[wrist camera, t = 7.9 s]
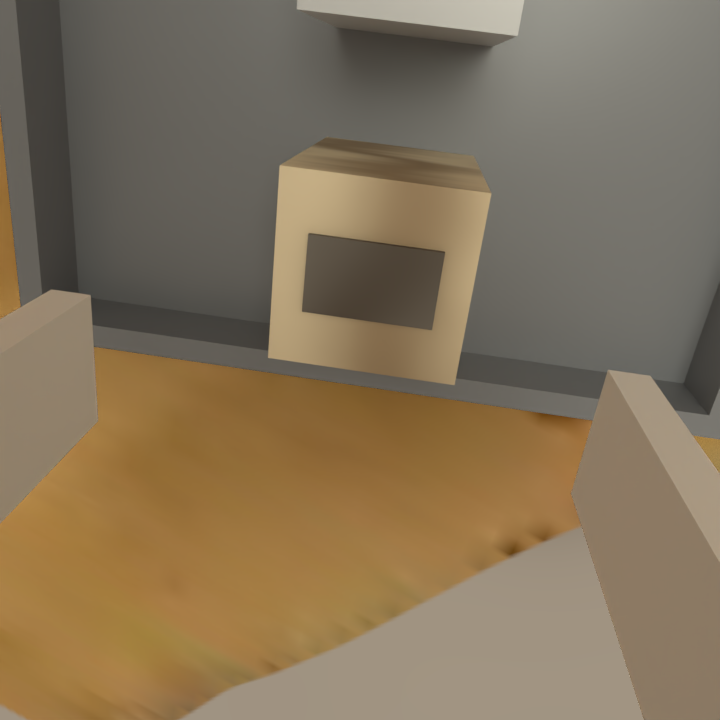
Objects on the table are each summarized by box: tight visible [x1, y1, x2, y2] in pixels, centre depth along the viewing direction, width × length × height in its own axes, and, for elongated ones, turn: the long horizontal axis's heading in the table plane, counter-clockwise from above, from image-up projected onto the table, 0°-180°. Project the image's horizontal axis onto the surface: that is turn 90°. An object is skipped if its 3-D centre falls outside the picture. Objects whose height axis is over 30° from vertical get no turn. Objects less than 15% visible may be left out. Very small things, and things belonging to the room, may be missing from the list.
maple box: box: [268, 137, 491, 385], centre depth 24 cm, size 6×6×9 cm
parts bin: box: [0, 0, 720, 439], centre depth 25 cm, size 30×22×4 cm
